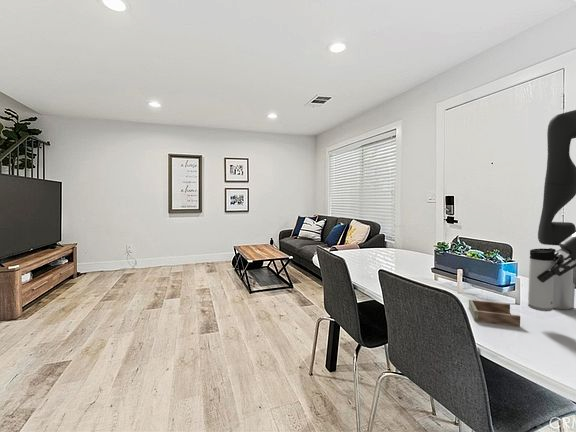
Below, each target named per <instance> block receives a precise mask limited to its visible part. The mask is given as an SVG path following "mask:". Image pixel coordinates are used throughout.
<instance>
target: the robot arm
mask: <svg viewBox="0 0 576 432" xmlns="http://www.w3.org/2000/svg"><path fill="white" fill-rule="evenodd" d="M546 131H547V133H546V134H547V135H546V136H547V160H546V161H547V162H546V171H545V172H546V173H545V178H544V184H543V185H544V187H543V197H542V198H543V202H542V210H541V215H540V219H539V223H538V230H537V240H538V241H539V243H540V244H541V245H545V246H559V247H560V248H559V249H557V250H556V251H555V257H554V261H553V262H552V263H551V266H550V267H549V268H548V271H547V270H546V271H544V272H543V273H541V274H540V275H539V276H537V279H539V280H540V281H541V282H545V281H546V280H548V279H549V278H551V277H552V276H553V275H554V290H553V309H556V310H557V309H558V310H571V309H572V308H575V289H576V284H575V283H574V281H573V280H574V268H576V225H575V224H574V223H572V222H569V221H567V222H566V221H554V220H553V219H554V218H555V216H556V215H557V214H558V213H559V212H560V211H561V210H562V208H564V207H565V206H566V205H568V203H570V201H572V200H573V199H574V198H575V196H576V165H575V163H574V162H573V160H572V158H571V156H570V148H571V142H572V139H576V109H574V110H569V111H567V112H566V111H565V112H561V113H558V114H555V115H553V117H552V118H551V119H550V120H549V122H548V126H547V130H546Z"/></svg>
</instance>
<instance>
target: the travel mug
mask: <svg viewBox="0 0 576 432" xmlns="http://www.w3.org/2000/svg"><path fill="white" fill-rule="evenodd" d="M555 251H557V250H556V248H551V247H550V248H533V249H530V250H529V262H528V263H529V264H528V265H529V266H528V267H529V269H528V298H527V300H528V302H527V306H528V308H531V309H533V310H535V311H538V312H553V310H554V308H553V290H554V275H553V276H552V277H551V278H549V279H548V280H546V281H545V282H541V281H540V280H539V279H537V276H539V275H540V274H541V273H543V272H544V271H546V270H547V271H548V268H549V267H550V266H551V263H552V262H553V261H554V257H555Z"/></svg>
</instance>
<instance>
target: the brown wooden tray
mask: <svg viewBox="0 0 576 432" xmlns="http://www.w3.org/2000/svg"><path fill="white" fill-rule="evenodd" d="M468 310H469V312H470V314H471V316H472V318H473V321H474V322H481V323H489V324H494V325H495V324H496V325H504V326H511V327H518V328H520V327H521V316H520V315H518V314H512V313H511V304H510V303H505V302H496V301H486V300H476V299H468Z"/></svg>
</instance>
